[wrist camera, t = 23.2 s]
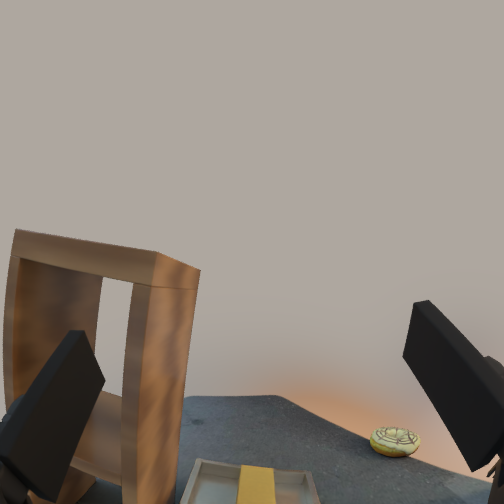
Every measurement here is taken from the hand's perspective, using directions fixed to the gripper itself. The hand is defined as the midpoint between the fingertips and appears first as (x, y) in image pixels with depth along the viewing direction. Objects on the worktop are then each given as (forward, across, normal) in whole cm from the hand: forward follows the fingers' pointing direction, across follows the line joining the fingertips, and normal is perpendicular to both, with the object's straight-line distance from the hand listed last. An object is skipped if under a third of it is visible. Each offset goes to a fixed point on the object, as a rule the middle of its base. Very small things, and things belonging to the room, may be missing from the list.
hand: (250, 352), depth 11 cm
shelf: (0, -18, -26) cm, 31 cm away
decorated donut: (+21, +25, -48) cm, 59 cm away
